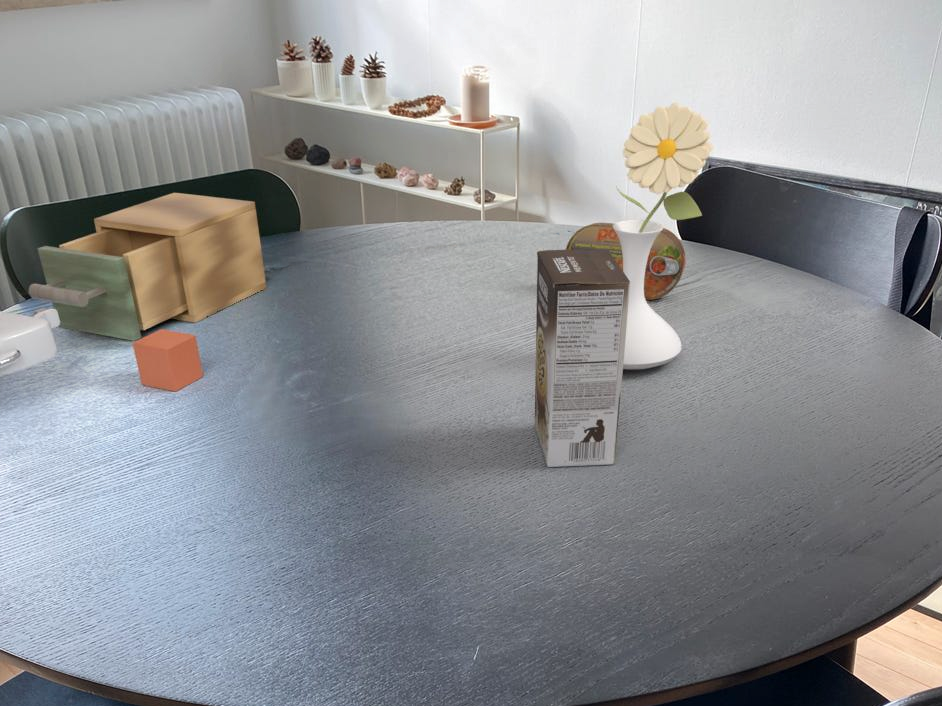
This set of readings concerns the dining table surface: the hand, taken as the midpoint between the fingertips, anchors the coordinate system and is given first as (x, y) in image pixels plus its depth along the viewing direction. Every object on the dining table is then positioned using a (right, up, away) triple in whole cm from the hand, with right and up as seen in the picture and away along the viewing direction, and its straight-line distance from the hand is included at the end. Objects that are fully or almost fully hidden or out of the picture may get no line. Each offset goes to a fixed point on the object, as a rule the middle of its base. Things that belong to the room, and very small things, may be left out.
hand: (19, 309), depth 102 cm
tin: (+66, +10, +23) cm, 71 cm away
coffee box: (+56, -17, -12) cm, 60 cm away
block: (+16, -7, +1) cm, 17 cm away
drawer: (+6, +3, +13) cm, 15 cm away
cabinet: (+11, +9, +23) cm, 27 cm away
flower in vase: (+65, -4, +4) cm, 65 cm away
